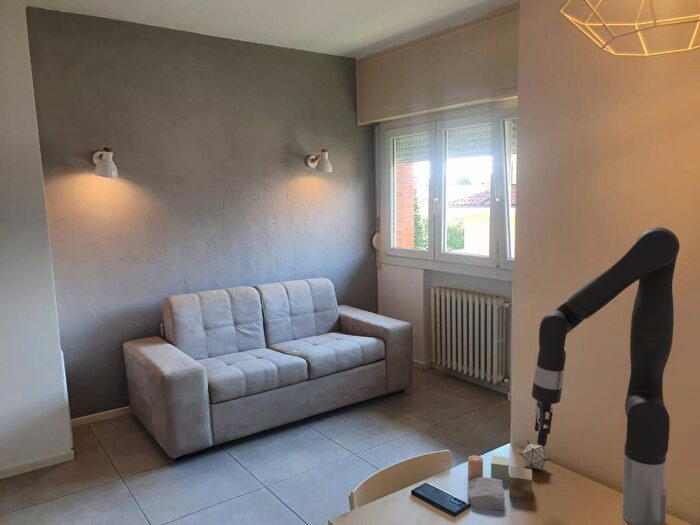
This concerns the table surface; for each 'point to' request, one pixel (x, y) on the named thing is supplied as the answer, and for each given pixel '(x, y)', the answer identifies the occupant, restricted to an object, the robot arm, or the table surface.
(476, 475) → the terracotta cylinder
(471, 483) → the stone block
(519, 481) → the walnut cube
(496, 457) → the sage cube
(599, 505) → the table surface
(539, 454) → the white knobbed polyhedron
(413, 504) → the table surface
